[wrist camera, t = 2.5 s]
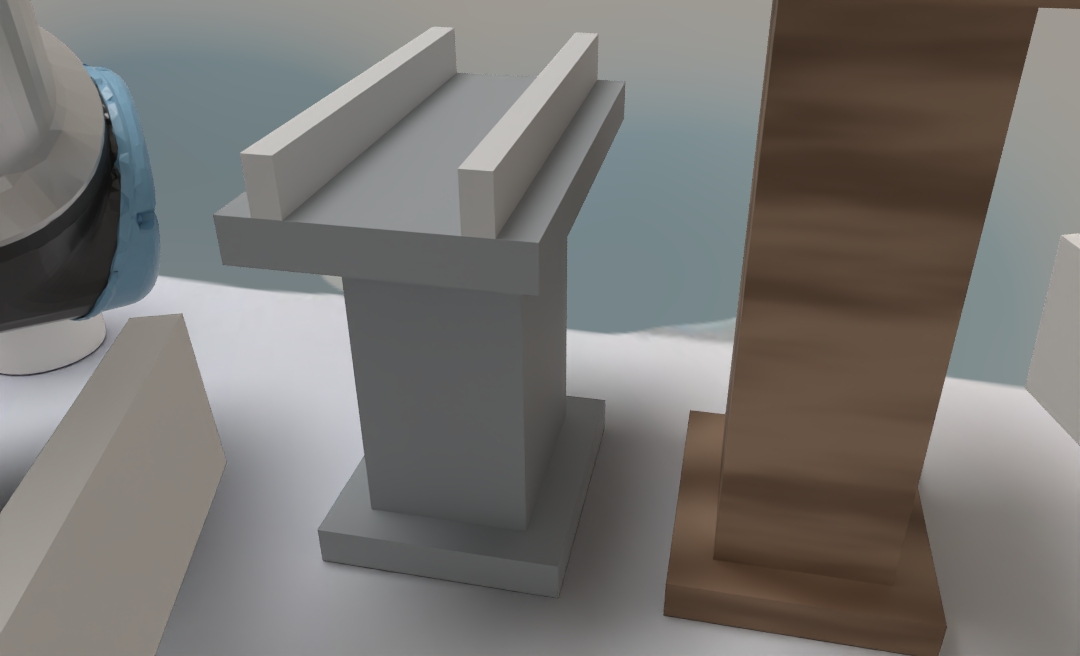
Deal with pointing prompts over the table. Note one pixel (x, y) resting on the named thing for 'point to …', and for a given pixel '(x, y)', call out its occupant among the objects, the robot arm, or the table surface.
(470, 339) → the cradle
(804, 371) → the tall stand
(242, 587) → the table surface
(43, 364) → the bottle
